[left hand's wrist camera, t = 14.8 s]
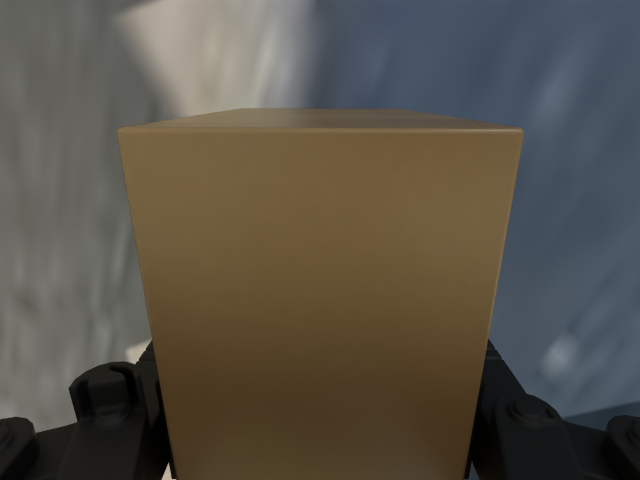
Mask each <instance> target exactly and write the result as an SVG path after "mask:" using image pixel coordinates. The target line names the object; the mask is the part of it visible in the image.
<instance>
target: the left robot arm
mask: <svg viewBox="0 0 640 480" xmlns="http://www.w3.org/2000/svg"><path fill="white" fill-rule="evenodd" d="M69 392H70V395H71V399H72V403H73V406H74V410H75V414H76V417H77V423H74V424H71V425H67V426H63V427H59V428H55V429H51V430H46V431H42V432H38V433H36V432H35V429H34V426H33V423H31V422H30V421H29V420H28V419H27V418H20V417H12V418H5V419H1V420H0V480H161V479H162V477H163V475H164V472H165V470H166V467H167V465H168V463H169V465H170V471H171V477H172V479H176V474H175V468H174V463H173V457H172V451H171V445H170V439H169V433H168V428H167V422H166V416H165V410H164V404H163V399H162V393H161V387H160V381H159V375H158V370H157V364H156V358H155V352H154V346H153V341H151V342H150V344H149V345H148V346H147V348H146V351H144V352H143V354H142V355H141V357H140V358H139V361H137V362H136V364H132V363H128V362H111V363H107V364H103V365H99V366H97V367H95V368H92V369H90V370H88V371H86V372H85V373H83V374H82V375H81V376H79V377H78V378H76V379H75V380H74V382H73V383H72V384H71V386H70V387H69ZM471 462H473V465H474V467H475V470H476V472H477V474H478V477H479V480H640V418H639V417H633V416H626V415H624V416H617V417H613V418H612V419H611V420H610V421H609V422H608V424H607V427H606V430H605V431H601V430H597V429H592V428H588V427H584V426H580V425H575V424H572V423H569V422H565V421H563V420H562V419H561V417H560V416H559V414H558V412H557V411H556V410H555V409H554V408H552V407H551V406H550V405H549V404H548V403H547V402H545V401H543V400H541V399H539V398H537V397H535V396H533V395H529V394H526V392H525V391H524V389H523V388H522V386H521V385H520V383H519V382H518V381H517V379H516V378H515V376H514V375H513V373H512V372H511V370H510V369H509V368H508V366H507V365H506V363H505V362H504V360H502V359H501V356H500V355H499V353H498V352H497V350H495V347H494V346H493V344H492V343H491V342H490V340H489V339H488V343H487V349H486V355H485V360H484V366H483V372H482V377H481V383H480V389H479V395H478V400H477V406H476V412H475V418H474V423H473V429H472V435H471V441H470V446H469V452H468V458H467V464H466V469H465V475H464V479H468V478H469V473H470V467H471Z"/></svg>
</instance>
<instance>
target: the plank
mask: <svg viewBox="0 0 640 480" xmlns="http://www.w3.org/2000/svg"><path fill="white" fill-rule="evenodd" d="M523 136H524V132H523V129H521V128H518V127H512V126H506V125H500V124H493V123H487V122H481V121H475V120H468V119H462V118H456V117H450V116H443V115H437V114H431V113H424V112H418V111H412V110H406V109H368V108H241V109H234V110H228V111H222V112H215V113H209V114H203V115H196V116H190V117H184V118H177V119H171V120H165V121H158V122H152V123H146V124H139V125H133V126H127V127H122V128H120V129H118V130H117V137H118V143H119V149H120V155H121V161H122V166H123V172H124V178H125V184H126V190H127V195H128V201H129V207H130V213H131V219H132V224H133V230H134V236H135V242H136V248H137V254H138V259H139V265H140V271H141V277H142V283H143V288H144V294H145V300H146V306H147V312H148V317H149V323H150V329H151V335H152V341H153V346H154V352H155V358H156V364H157V370H158V375H159V381H160V387H161V393H162V399H163V404H164V410H165V416H166V422H167V428H168V433H169V439H170V445H171V451H172V457H173V463H174V468H175V474H176V480H464V475H465V469H466V464H467V458H468V452H469V446H470V441H471V435H472V429H473V423H474V418H475V412H476V406H477V400H478V395H479V389H480V383H481V377H482V372H483V366H484V360H485V355H486V349H487V343H488V337H489V332H490V326H491V320H492V314H493V309H494V303H495V297H496V291H497V286H498V280H499V274H500V268H501V263H502V257H503V251H504V245H505V240H506V234H507V228H508V222H509V217H510V211H511V205H512V199H513V194H514V188H515V182H516V176H517V171H518V165H519V159H520V153H521V148H522V142H523Z"/></svg>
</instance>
